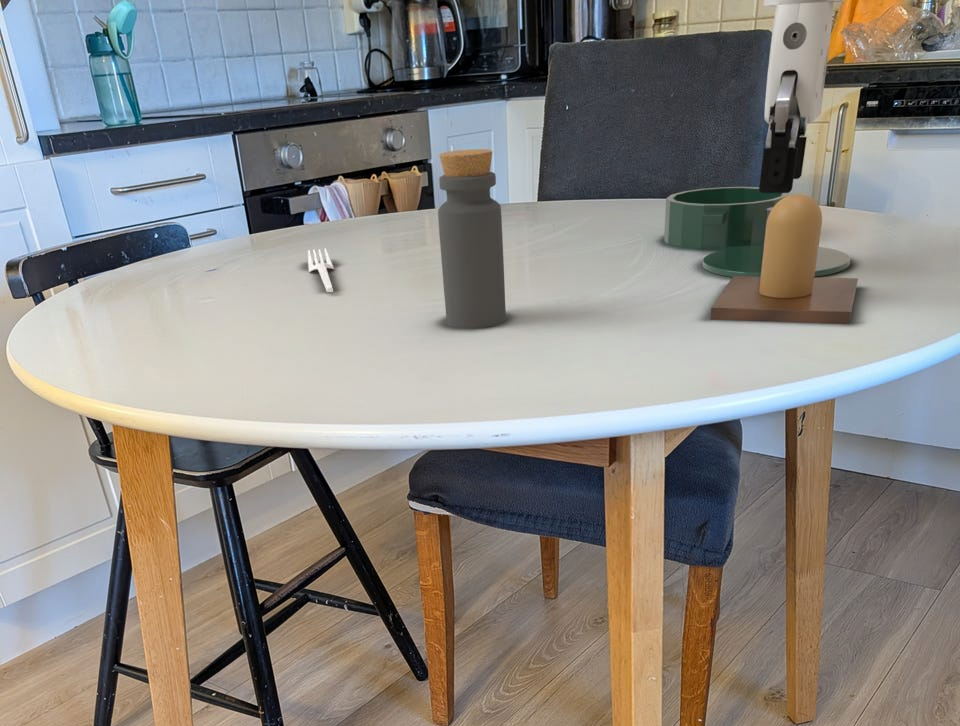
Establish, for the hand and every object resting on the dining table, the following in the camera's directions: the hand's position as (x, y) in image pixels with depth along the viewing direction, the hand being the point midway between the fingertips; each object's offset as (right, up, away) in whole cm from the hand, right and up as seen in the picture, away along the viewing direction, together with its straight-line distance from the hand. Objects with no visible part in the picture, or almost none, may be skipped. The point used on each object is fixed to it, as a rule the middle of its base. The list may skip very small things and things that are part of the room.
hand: (780, 185), depth 93 cm
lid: (+1, -7, +4) cm, 8 cm away
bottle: (-32, -18, -7) cm, 38 cm away
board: (-3, -17, -9) cm, 19 cm away
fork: (-52, -4, +16) cm, 54 cm away
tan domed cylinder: (-3, -16, -10) cm, 19 cm away
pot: (-1, +2, +19) cm, 19 cm away
